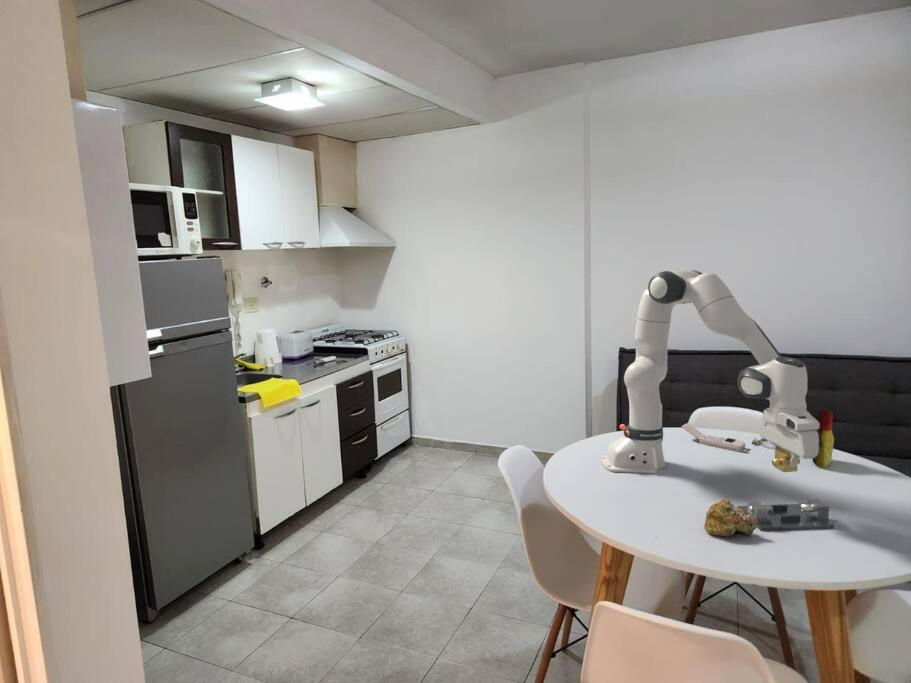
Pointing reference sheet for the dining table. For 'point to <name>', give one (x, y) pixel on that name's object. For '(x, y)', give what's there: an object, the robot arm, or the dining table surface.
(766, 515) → the dark grey baseplate
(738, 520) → the rock
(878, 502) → the dining table surface
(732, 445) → the mobile phone
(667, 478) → the dining table surface
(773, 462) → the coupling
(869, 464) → the dining table surface
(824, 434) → the red yellow oblong piece
